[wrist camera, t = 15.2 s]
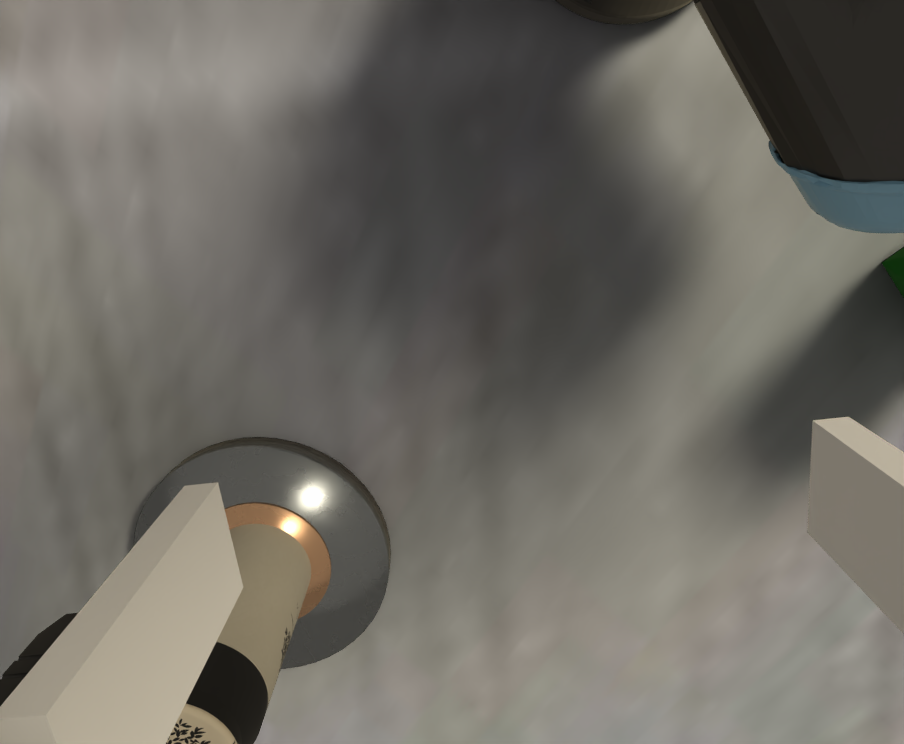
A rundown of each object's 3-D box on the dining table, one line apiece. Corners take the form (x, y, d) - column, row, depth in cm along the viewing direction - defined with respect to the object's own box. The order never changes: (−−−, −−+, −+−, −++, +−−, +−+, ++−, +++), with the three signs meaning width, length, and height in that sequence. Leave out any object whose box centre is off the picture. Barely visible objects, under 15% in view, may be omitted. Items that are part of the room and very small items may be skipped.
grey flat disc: (371, 424, 52) (367, 436, 49) (406, 641, 58) (404, 660, 55) (116, 451, 52) (102, 463, 50) (176, 662, 58) (166, 682, 56)
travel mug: (190, 573, 53) (64, 771, 36) (246, 502, 51) (142, 676, 34) (274, 626, 54) (192, 841, 37) (332, 559, 52) (273, 753, 35)
